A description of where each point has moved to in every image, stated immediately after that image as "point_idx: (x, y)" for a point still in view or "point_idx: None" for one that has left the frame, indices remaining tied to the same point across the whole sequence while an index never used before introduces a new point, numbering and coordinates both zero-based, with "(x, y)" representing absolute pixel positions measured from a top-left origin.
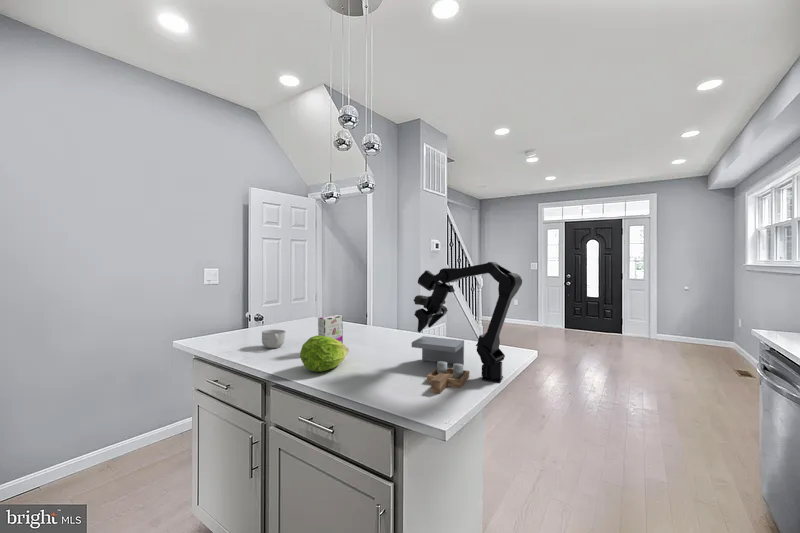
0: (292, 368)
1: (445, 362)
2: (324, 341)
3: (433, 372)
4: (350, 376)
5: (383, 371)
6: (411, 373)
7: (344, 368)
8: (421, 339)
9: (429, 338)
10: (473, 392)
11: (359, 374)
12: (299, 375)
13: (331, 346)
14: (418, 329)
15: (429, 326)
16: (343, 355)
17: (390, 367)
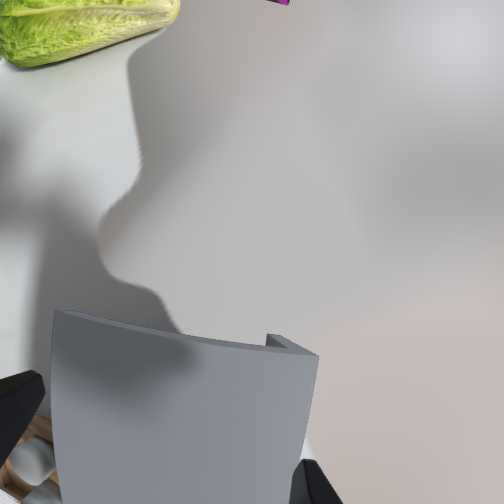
0: None
1: (33, 480)
2: (1, 6)
3: None
4: (7, 132)
5: (46, 205)
6: (45, 327)
7: (74, 77)
8: (173, 376)
9: (240, 433)
10: (7, 500)
11: (19, 145)
12: None
13: (8, 24)
14: (10, 386)
15: (295, 477)
16: (77, 40)
17: (95, 213)
